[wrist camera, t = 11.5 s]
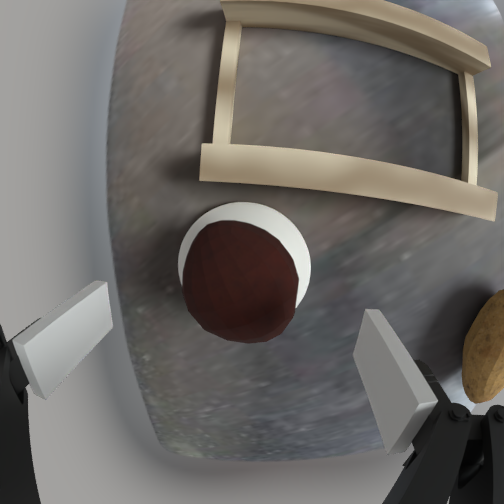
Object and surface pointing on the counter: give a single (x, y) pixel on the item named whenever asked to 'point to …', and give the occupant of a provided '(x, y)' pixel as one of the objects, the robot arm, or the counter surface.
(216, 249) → the dark brown rounded piece
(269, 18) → the cradle
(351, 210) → the counter surface
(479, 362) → the potato
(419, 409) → the robot arm
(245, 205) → the plate
